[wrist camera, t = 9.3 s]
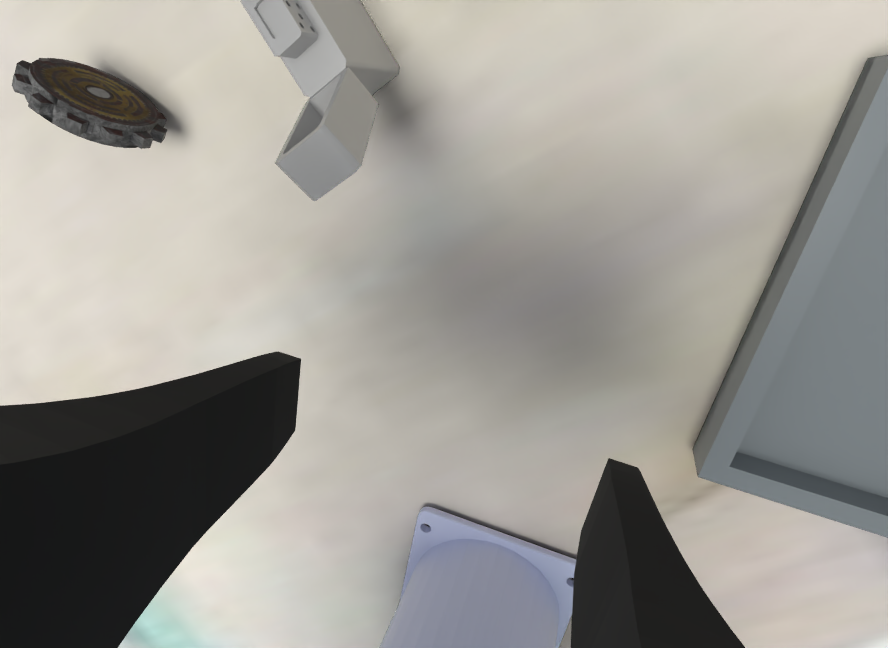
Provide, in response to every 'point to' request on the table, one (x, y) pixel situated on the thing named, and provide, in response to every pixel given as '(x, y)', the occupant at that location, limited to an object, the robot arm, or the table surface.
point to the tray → (819, 343)
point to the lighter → (326, 83)
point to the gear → (89, 103)
